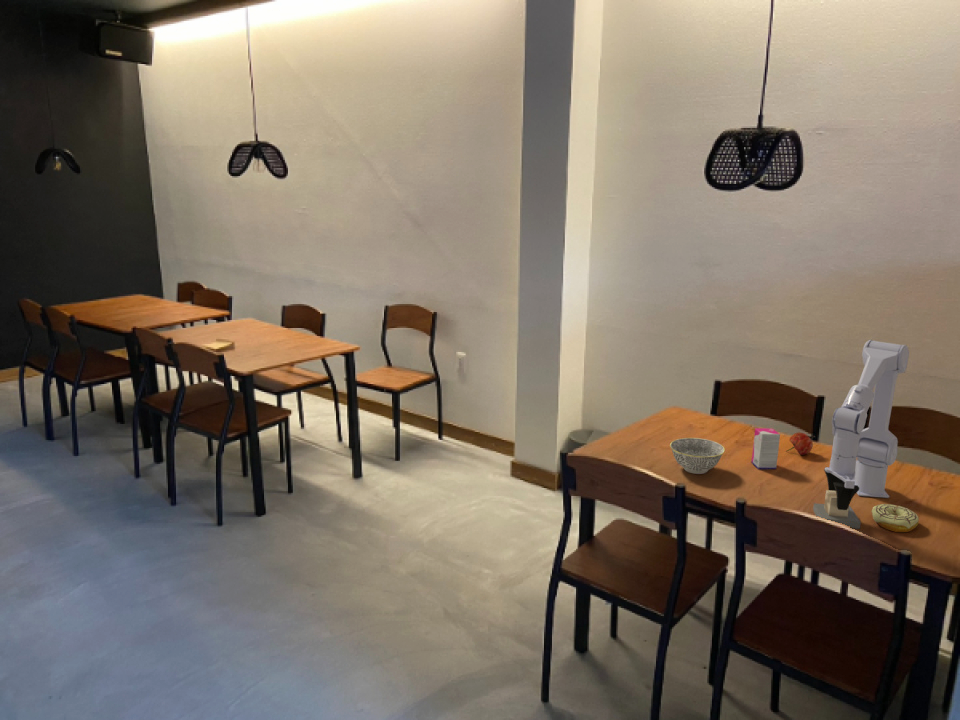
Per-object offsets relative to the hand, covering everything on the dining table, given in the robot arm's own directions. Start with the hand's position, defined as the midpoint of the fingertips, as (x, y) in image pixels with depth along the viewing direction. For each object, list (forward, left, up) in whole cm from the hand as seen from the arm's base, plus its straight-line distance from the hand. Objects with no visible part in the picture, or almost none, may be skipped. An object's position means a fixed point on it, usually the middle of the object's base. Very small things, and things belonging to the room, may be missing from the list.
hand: (837, 502), depth 184 cm
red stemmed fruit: (-47, +1, -5) cm, 47 cm away
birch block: (0, 0, -3) cm, 3 cm away
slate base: (0, 0, -5) cm, 5 cm away
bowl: (-27, -33, -5) cm, 43 cm away
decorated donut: (0, +14, -5) cm, 15 cm away
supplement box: (-34, -12, -5) cm, 36 cm away
